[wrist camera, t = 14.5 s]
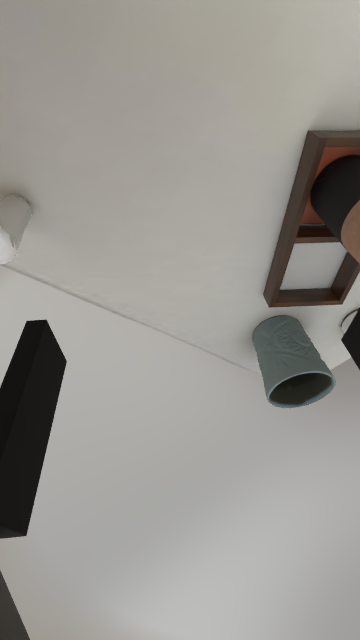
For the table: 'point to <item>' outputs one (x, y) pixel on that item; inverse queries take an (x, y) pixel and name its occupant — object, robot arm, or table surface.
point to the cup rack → (300, 211)
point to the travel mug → (340, 201)
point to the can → (348, 321)
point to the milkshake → (12, 225)
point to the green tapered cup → (290, 364)
